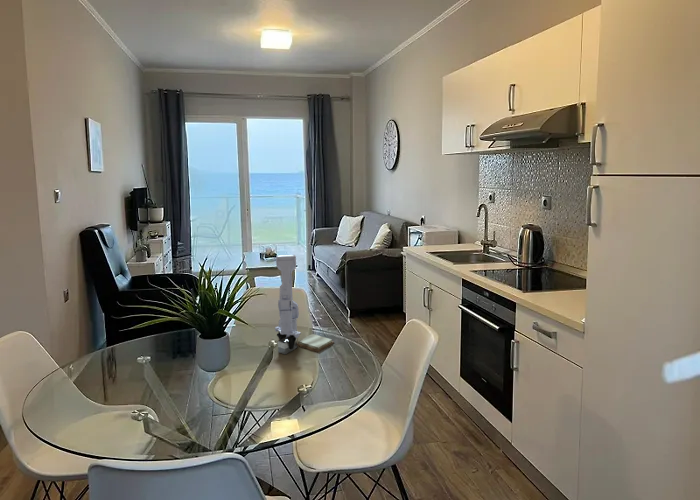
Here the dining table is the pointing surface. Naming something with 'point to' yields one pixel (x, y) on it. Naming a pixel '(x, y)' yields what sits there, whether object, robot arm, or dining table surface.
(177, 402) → the dining table surface
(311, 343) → the stand
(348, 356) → the dining table surface
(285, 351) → the housing
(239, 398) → the dining table surface
